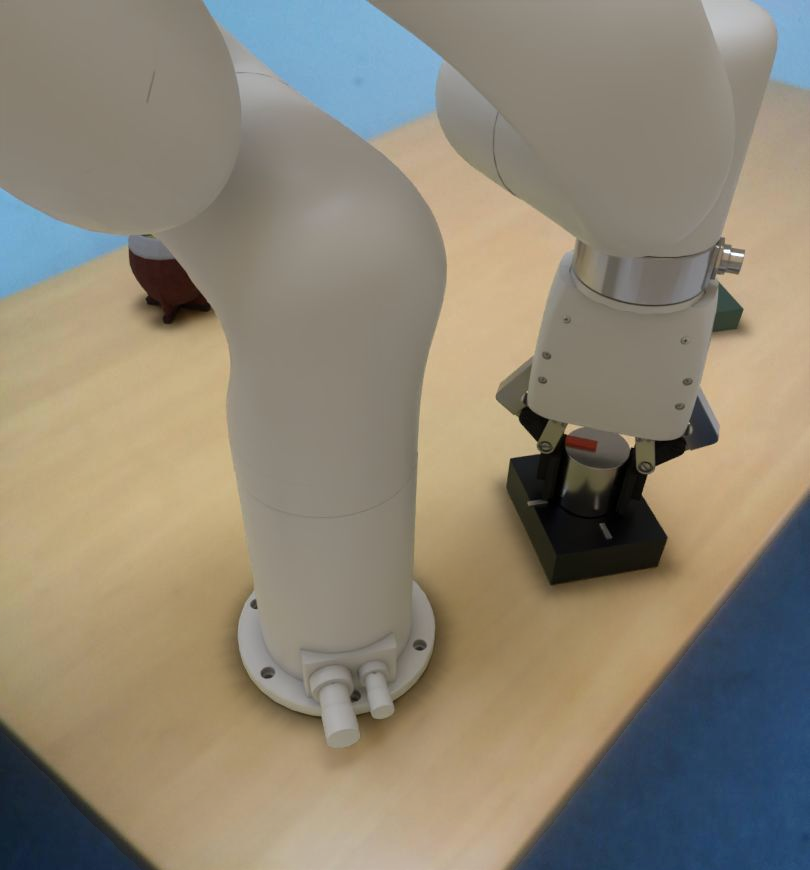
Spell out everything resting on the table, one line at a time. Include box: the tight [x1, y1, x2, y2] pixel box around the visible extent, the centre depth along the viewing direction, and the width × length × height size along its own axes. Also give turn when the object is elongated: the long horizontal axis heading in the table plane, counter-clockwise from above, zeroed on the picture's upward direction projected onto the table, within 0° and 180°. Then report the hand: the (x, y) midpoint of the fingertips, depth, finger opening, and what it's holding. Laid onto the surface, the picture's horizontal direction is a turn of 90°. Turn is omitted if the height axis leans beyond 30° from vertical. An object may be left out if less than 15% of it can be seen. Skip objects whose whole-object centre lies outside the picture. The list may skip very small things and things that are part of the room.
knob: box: [555, 426, 631, 517], centre depth 60 cm, size 4×4×5 cm
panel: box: [505, 453, 669, 586], centre depth 63 cm, size 10×9×3 cm
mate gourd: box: [127, 234, 212, 325], centre depth 77 cm, size 8×8×15 cm
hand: (586, 491), depth 61 cm, fingers closed on knob, 4 cm apart
